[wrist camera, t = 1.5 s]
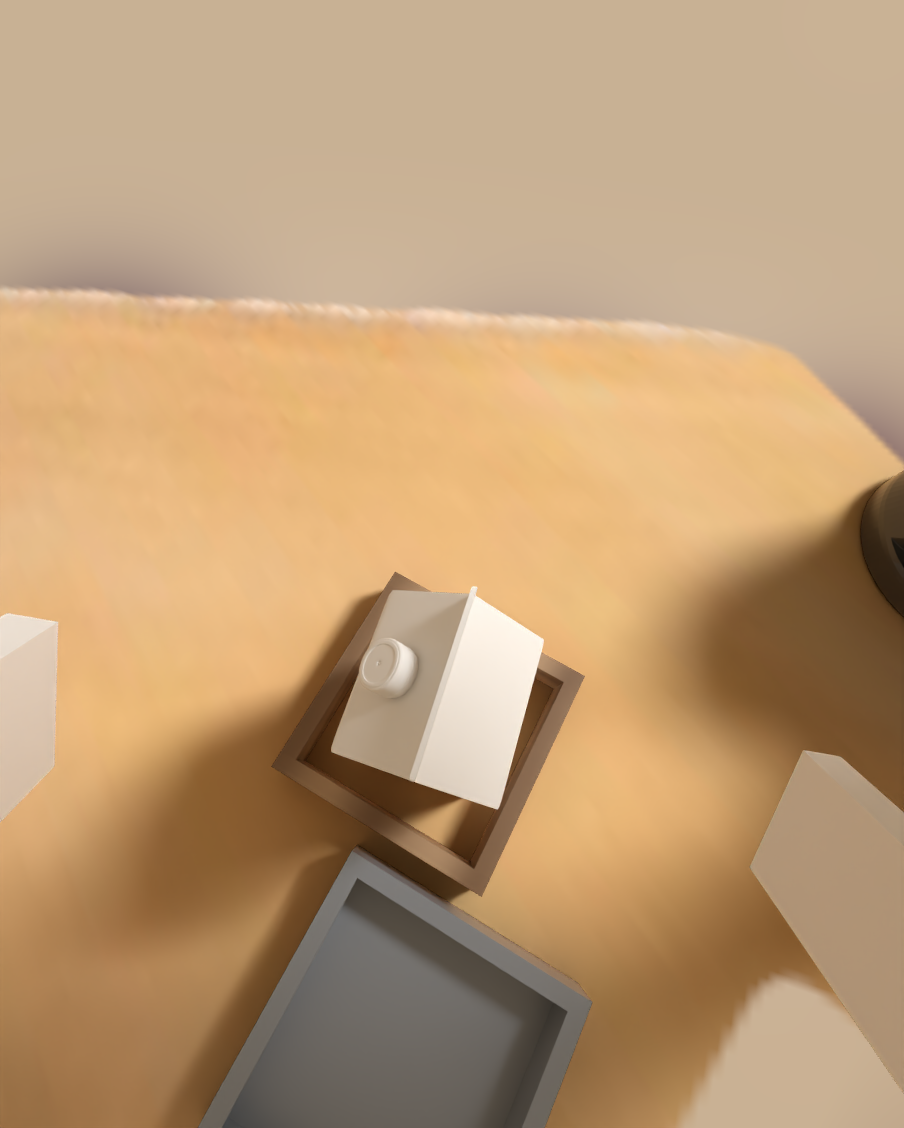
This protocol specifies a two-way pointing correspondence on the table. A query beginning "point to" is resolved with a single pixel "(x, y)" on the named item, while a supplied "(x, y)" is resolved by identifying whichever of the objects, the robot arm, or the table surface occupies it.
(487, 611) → the milk carton
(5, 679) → the robot arm
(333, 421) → the table surface
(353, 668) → the holder frame
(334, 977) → the tray
